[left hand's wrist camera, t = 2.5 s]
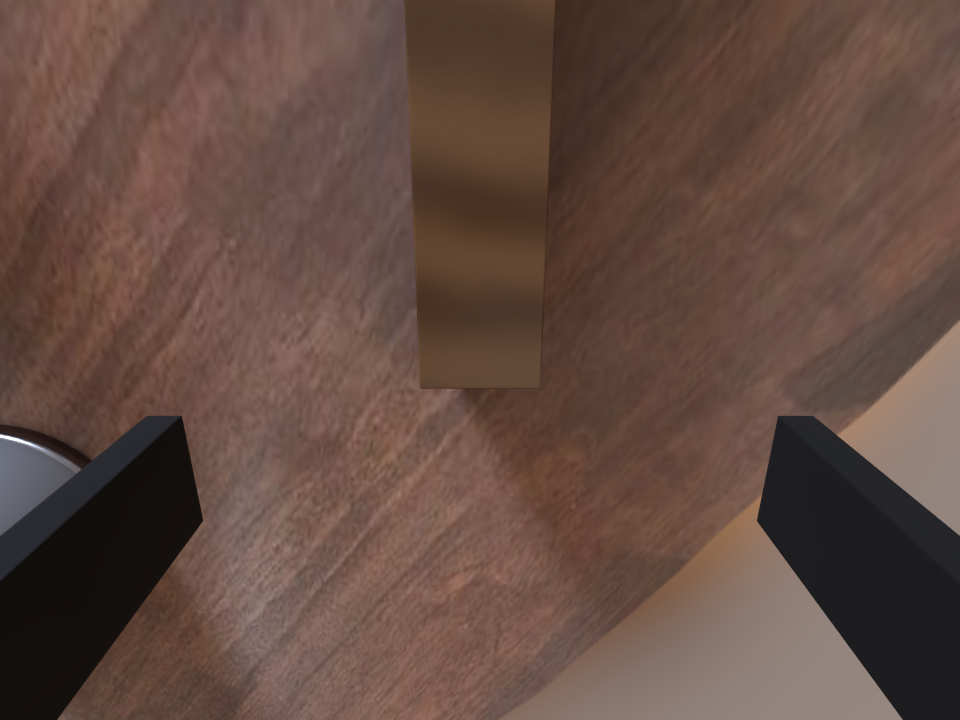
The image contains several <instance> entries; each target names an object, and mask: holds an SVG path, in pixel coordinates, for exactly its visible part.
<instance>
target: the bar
mask: <svg viewBox="0 0 960 720" xmlns="http://www.w3.org/2000/svg"><path fill="white" fill-rule="evenodd" d="M555 16H556V0H405V25H406V50H407V74H408V99H409V124H410V149H411V174H412V199H413V224H414V249H415V274H416V299H417V324H418V349H419V374H420V388H422V389H539V388H540V387H541V362H542V337H543V313H544V288H545V263H546V238H547V214H548V189H549V164H550V140H551V115H552V90H553V65H554V41H555Z"/></svg>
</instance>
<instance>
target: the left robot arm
mask: <svg viewBox="0 0 960 720" xmlns="http://www.w3.org/2000/svg"><path fill="white" fill-rule="evenodd" d="M202 522H203V518H202V513H201V508H200V503H199V498H198V493H197V488H196V484H195V479H194V474H193V469H192V464H191V459H190V454H189V449H188V444H187V439H186V434H185V429H184V425H183V420H182V416H146V417H145V418H144V419H143V420H141V421H140V422H139V423H138V424H137V425H135V426H134V427H133V428H132V429H130V430H129V431H128V432H127V433H126V434H124V435H123V436H122V437H121V438H119V439H118V440H117V441H116V442H115V443H113V444H112V445H111V446H110V447H108V448H107V449H106V450H105V451H104V452H102V453H101V454H100V455H99V456H97V457H96V458H95V459H94V460H93V461H91V460H90V459H88V458H87V457H86V456H84V455H83V454H81V453H80V452H78V451H77V450H75V449H73V448H72V447H70V446H68V445H67V444H65V443H63V442H61V441H58V440H56V439H54V438H52V437H49V436H47V435H44V434H41V433H38V432H35V431H32V430H28V429H24V428H20V427H14V426H8V425H0V720H57V719H58V718H59V716H60V715H61V714H62V712H63V711H64V710H65V708H66V707H67V705H68V704H69V703H70V701H71V700H72V699H73V697H74V696H75V695H76V693H77V692H78V691H79V689H80V688H81V686H82V685H83V684H84V682H85V681H86V680H87V678H88V677H89V676H90V674H91V673H92V671H93V670H94V669H95V667H96V666H97V665H98V663H99V662H100V661H101V659H102V658H103V656H104V655H105V654H106V652H107V651H108V650H109V648H110V647H111V646H112V644H113V643H114V641H115V640H116V639H117V637H118V636H119V635H120V633H121V632H122V631H123V629H124V628H125V627H126V625H127V624H128V622H129V621H130V620H131V618H132V617H133V616H134V614H135V613H136V612H137V610H138V609H139V607H140V606H141V605H142V603H143V602H144V601H145V599H146V598H147V597H148V595H149V594H150V592H151V591H152V590H153V588H154V587H155V586H156V584H157V583H158V582H159V580H160V579H161V577H162V576H163V575H164V573H165V572H166V571H167V569H168V568H169V567H170V565H171V564H172V563H173V561H174V560H175V558H176V557H177V556H178V554H179V553H180V552H181V550H182V549H183V548H184V546H185V545H186V543H187V542H188V541H189V539H190V538H191V537H192V535H193V534H194V533H195V531H196V530H197V528H198V527H199V526H200V524H201V523H202ZM757 522H758V523H759V524H760V526H761V527H762V528H763V530H764V531H765V532H766V534H767V535H768V537H769V538H770V539H771V541H772V542H773V543H774V545H775V546H776V548H777V549H778V550H779V552H780V553H781V554H782V556H783V557H784V558H785V560H786V561H787V562H788V564H789V565H790V567H791V568H792V569H793V571H794V572H795V573H796V575H797V576H798V577H799V579H800V580H801V582H802V583H803V584H804V586H805V587H806V588H807V590H808V591H809V592H810V594H811V595H812V596H813V598H814V599H815V601H816V602H817V603H818V605H819V606H820V607H821V609H822V610H823V611H824V613H825V614H826V616H827V617H828V618H829V620H830V621H831V622H832V624H833V625H834V626H835V628H836V629H837V631H838V632H839V633H840V635H841V636H842V637H843V639H844V640H845V641H846V643H847V644H848V646H849V647H850V648H851V650H852V651H853V652H854V654H855V655H856V656H857V658H858V659H859V661H860V662H861V663H862V665H863V666H864V667H865V669H866V670H867V671H868V673H869V674H870V676H871V677H872V678H873V680H874V681H875V682H876V684H877V685H878V686H879V688H880V689H881V690H882V692H883V693H884V695H885V696H886V697H887V699H888V700H889V701H890V703H891V704H892V705H893V707H894V708H895V710H896V711H897V712H898V714H899V715H900V716H901V718H902V719H903V720H960V536H959V535H958V534H957V533H956V532H954V531H953V530H952V529H951V528H949V527H948V526H947V525H946V524H945V523H943V522H942V521H941V520H940V519H938V518H937V517H936V516H935V515H934V514H932V513H931V512H930V511H929V510H927V509H926V508H925V507H924V506H922V505H921V504H920V503H919V502H918V501H916V500H915V499H914V498H913V497H912V496H910V495H909V494H908V493H907V492H905V491H904V490H903V489H902V488H900V487H899V486H898V485H897V484H896V483H894V482H893V481H892V480H891V479H890V478H888V477H887V476H886V475H885V474H883V473H882V472H881V471H880V470H878V469H877V468H876V467H875V466H873V465H872V464H871V463H870V462H869V461H867V460H866V459H865V458H864V457H863V456H861V455H860V454H859V453H858V452H856V451H855V450H854V449H853V448H852V447H850V446H849V445H848V444H847V443H845V442H844V441H843V440H842V439H841V438H839V437H838V436H837V435H836V434H834V433H833V432H832V431H831V430H830V429H828V428H827V427H826V426H825V425H823V424H822V423H821V422H820V421H819V420H817V419H816V418H815V417H814V416H778V420H777V425H776V429H775V434H774V439H773V444H772V449H771V454H770V459H769V464H768V469H767V474H766V479H765V484H764V488H763V493H762V498H761V503H760V508H759V513H758V518H757Z"/></svg>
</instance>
